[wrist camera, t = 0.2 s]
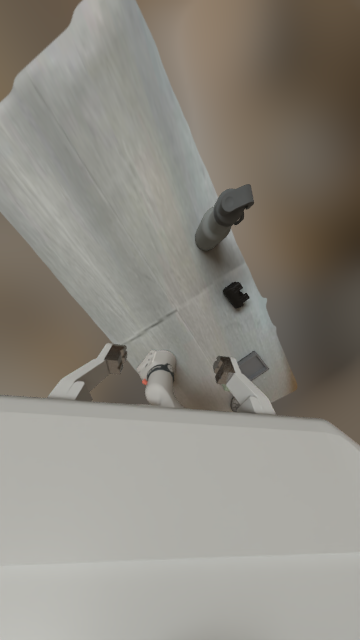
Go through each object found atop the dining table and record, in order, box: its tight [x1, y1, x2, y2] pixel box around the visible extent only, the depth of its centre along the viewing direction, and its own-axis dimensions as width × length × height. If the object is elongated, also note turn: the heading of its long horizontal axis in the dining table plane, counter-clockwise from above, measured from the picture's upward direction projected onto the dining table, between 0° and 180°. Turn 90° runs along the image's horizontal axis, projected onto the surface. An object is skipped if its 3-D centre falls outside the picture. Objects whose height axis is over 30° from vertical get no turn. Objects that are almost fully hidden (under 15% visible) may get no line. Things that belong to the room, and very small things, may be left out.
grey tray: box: [237, 351, 269, 381], centre depth 74 cm, size 14×14×3 cm
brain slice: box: [231, 397, 241, 412], centre depth 81 cm, size 20×17×3 cm
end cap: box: [223, 282, 250, 308], centre depth 60 cm, size 10×7×7 cm
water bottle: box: [195, 184, 254, 250], centre depth 42 cm, size 10×10×28 cm
